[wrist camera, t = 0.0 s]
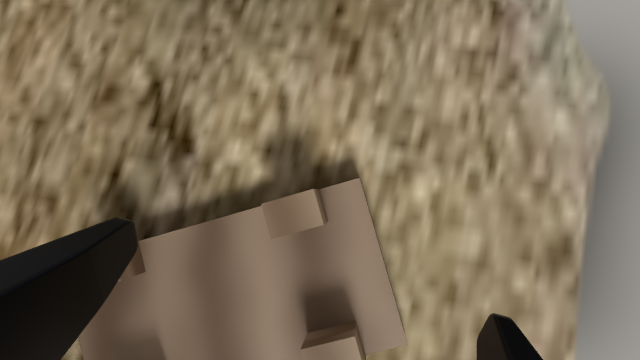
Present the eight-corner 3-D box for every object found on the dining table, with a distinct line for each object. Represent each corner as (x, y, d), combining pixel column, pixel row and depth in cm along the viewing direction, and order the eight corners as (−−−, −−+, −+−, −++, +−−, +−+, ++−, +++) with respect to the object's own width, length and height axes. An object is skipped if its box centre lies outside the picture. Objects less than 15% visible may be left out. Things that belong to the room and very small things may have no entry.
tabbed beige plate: (359, 178, 24) (358, 175, 20) (405, 335, 23) (412, 363, 19) (78, 259, 26) (27, 270, 22) (112, 404, 25) (65, 443, 22)
